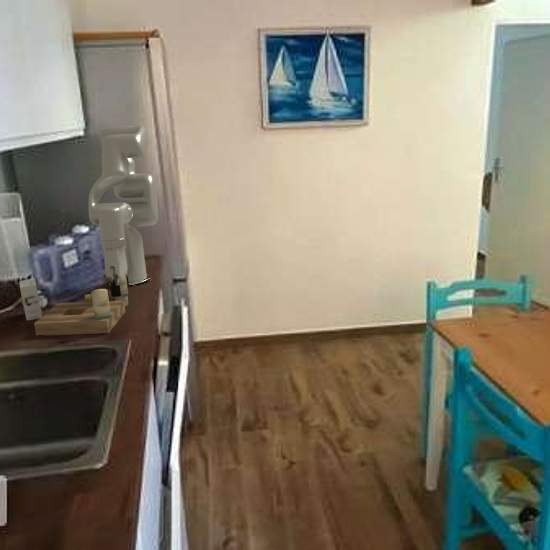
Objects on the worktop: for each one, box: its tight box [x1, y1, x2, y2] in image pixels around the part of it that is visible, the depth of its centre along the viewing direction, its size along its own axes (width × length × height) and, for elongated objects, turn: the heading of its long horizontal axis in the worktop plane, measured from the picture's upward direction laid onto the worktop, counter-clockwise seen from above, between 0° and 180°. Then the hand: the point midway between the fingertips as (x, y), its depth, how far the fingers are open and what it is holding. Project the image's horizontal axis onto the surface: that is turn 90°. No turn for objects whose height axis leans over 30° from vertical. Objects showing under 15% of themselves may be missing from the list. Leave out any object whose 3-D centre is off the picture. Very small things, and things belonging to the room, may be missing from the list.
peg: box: [115, 272, 129, 307], centre depth 178 cm, size 5×5×12 cm
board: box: [33, 288, 126, 337], centre depth 163 cm, size 18×22×12 cm
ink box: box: [19, 278, 43, 321], centre depth 172 cm, size 8×5×12 cm, turn 27°
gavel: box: [84, 286, 116, 302], centre depth 188 cm, size 21×5×10 cm
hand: (120, 291), depth 178 cm, fingers open, 9 cm apart
